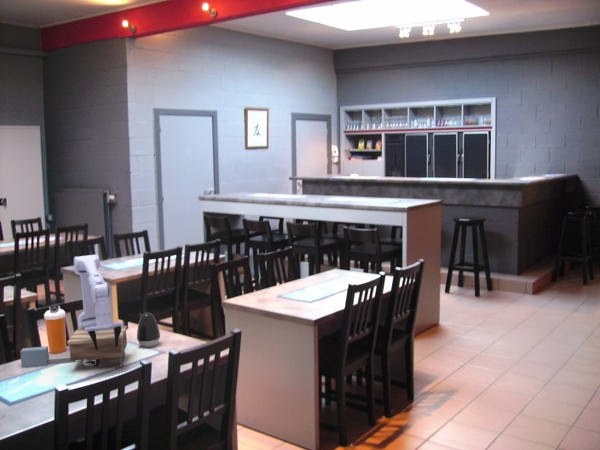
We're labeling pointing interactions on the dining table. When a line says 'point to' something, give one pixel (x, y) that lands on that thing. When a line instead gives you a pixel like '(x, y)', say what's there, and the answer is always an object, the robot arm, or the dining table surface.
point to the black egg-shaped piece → (147, 330)
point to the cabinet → (99, 347)
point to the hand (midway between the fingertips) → (106, 348)
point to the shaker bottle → (56, 329)
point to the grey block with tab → (39, 357)
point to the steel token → (89, 362)
